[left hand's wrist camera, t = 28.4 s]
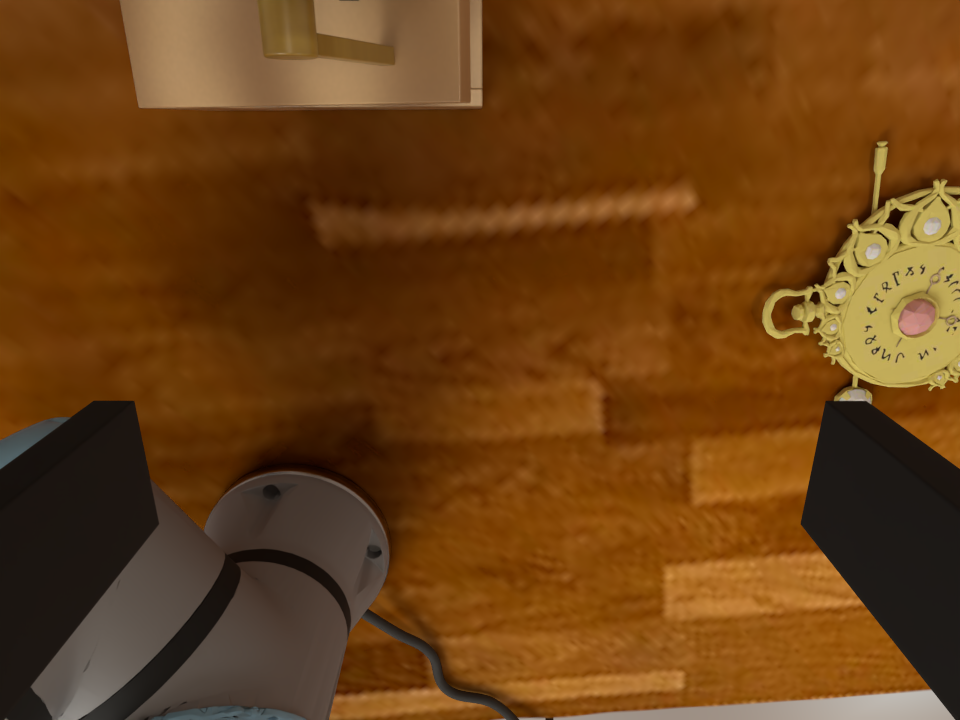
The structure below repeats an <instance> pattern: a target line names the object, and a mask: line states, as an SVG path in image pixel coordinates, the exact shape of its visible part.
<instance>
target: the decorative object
mask: <svg viewBox="0 0 960 720" xmlns="http://www.w3.org/2000/svg"><path fill="white" fill-rule="evenodd" d="M887 143H888V142H887V141H879V142H877V145H878V146H879V147H878V148H875V160H874V172H875V174H876V177H875V186H874V195H873V204H872V213H871V216H870V217H869V218H867V219H866V220H865V221H864V222H863V223H861V224H860V225H858V219H854V220H853V221H852V223H853V224H848V225H847V227H848V228H849V229H851V230H852V234H851V235H850V236H849V238H848V239H847V240H846V241H845V242H844V244H843V245H842V247H841V248H840V250H839V252H838V253H837V255H836V257H835V258H828V261H827V263H828V265H829V266H830V269H829V271H828V274H827V276H826V279H825V282H824V285H821V286H819V285H818V284H817V283H816V284H815V285H814V286H815V288H814V289H813V287H812V286H807V287H806V288H805V289H803V290H799V291H794V290H791V289H779V290H777V291H775V292H773V293H772V295H771V296H770V297H769V298H768V300H767V301H766V303H765V306H764V309H763V312H762V322H763V325H764V327H765V329H766V331H767V333H768V334H770V335H771V336H773V337H774V338H777V339H779V338H786V337H787V336H789V335H791V334H793V333H803V334H804V335H809V330H810V329H809V326H808V323H807V322H812V321H813V319H814V318H815V316H817V318H820V320H821V323H820V325H819V327H818V328H814V330H815V331H814V332H813V333H815V334H816V333H818V332H819V333H820V335H821V336H822V337H823V338H822V340H821V341H820V342H819V343H818V344H819V345H825V346H827V352H826V353H824V357H827V356H830V357H831V358H832V362H831V364H833V365H834V363H835V359H836V360H837V361H838V362H839V363H840V365H841V366H842V367H844V368H845V369H846V370H848V371H849V372H850V373H851V374H853V383H852V386H849V387H846V388H844V389H843V390H841V391H840V392H839V393H838V394H837V395H836V396H835V398H834V401H867V402H868V403H870V404H872V394H871V393H870V392H869V391H868V390H866V389H863V388H860V387H858V386H857V383H858V378H860V379H863V380H865V381H867V382H869V383H872V384H877V385H882V386H887V387H911V386H917V385H922V384H927V383H929V384H931V386H930V387H929V388H928V390H929V391H931V390H932V388H933V387H935V386H940V389H943V388H945V386H944V384H945V383H946V382H947V380H952V381H954V382H955V383H956V382H958V377H959V376H960V198H959V199H958V200H956V199H954V198H953V197H951V196H950V195H948V194H954V195H960V187H952V186H945V184H946V182H947V181H948V180H945V179H941V180H940V182H939V180H938V179H936V180H934V181H933V186H934V187H933V188H927V189H922V190H917V191H915V192H912V193H909V194H907V195H904V196H901V197H899V198H896V199H894V198H891V199H890V200H886V205H885V206H883V207H882V208H880V209H878V210H877V206H878V198H879V189H880V180H881V174H882V172H883V171H884V170H885V164H886V157H887V150H888V147H885V145H886V144H887ZM937 195H938V196H937ZM922 197H925V198H924V199H922V200H920V201H919V202H917V203H916V204H915V205H912V204H904V203H907V202H909V201H912V200H915V199H918V198H922ZM941 199H943V200H944V201H945V202H946V203H947V204H949V205H948V206H946V207H945V205H944V204H943V202H942V201H941ZM924 206H925V207H924ZM923 207H924V208H923ZM895 208H898V209H899V210H900V211H908V212H906V213H905V214H904V215H903V217H902V219H901V221H900V223H899V225H898V228H895V227H894V226H893V225H892V224H888V223H885V221H886V220H887V218H888V217H889V212H890V211H891V210H893V209H895ZM922 208H923V209H922ZM948 209H951V222H950V216H949V211H948ZM879 218H880V219H879ZM878 219H879V220H878ZM877 220H878V223H876V221H877ZM950 223H951V227H950V228H949V230H948V227H949V225H950ZM947 230H948V231H947ZM864 231H869V233H863V232H864ZM877 231H880V232H881V233H882V234H883V235H884V236H885V237H886V238H888V239H889V243H888V245H887V241H886V239H885V238H884V237H882V236H881V235H880V234H878V233H876V232H877ZM911 235H912V237H911ZM951 240H953V243H952V242H949V241H951ZM900 241H901V242H902V243H901V244H899V243H900ZM854 245H855V246H854ZM853 253H854V255H853ZM854 256H855V257H854ZM855 259H856V260H855ZM842 260H843V261H844V267H845V269H846V271H847V272H841V273H838V274H837V271H838V268H839V266H840V264H841V262H842ZM857 264H859V265H862V266H863V267H858V266H857ZM835 281H838V282H835ZM844 281H848V282H849V284H847V283H845V282H844ZM816 291H818V292H819V293H820V301H821V302H818V303H817V304H816V305H814V303H813V302H811V301H809V299H810V297H811V295H812V293H813V292H816ZM786 295H787V296H801V295H805V301H804V302H802V303H801V304H797V305H795V306H794V307H793V309H792V313H791V314H792V316H793V318H794V320H800V321H802V322H803V325H802V327H799V328H791V329H787V330H783V331H780V330H776V329H775V328H774V326H773V323H772V320H771V312H772V310H773V307H774V304H775V302H776V301H777V300H778V299H780V298H781V297H784V296H786ZM829 302H830V303H831V304H830V303H829ZM832 304H839V305H837V306H834V305H832ZM828 313H830V314H829V315H828ZM834 318H835V319H834ZM825 341H826V342H825ZM946 366H947V368H946V369H944V368H945V367H946ZM951 374H952V375H954V379H955V380H954V379H953V378H952V377H949V376H950V375H951ZM937 383H938V384H937Z"/></svg>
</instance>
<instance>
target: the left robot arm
mask: <svg viewBox="0 0 960 720" xmlns="http://www.w3.org/2000/svg"><path fill="white" fill-rule="evenodd" d="M801 525H802V526H803V528H804V529H805V530H806V531H807V533H808V534H809V535H810V537H811V538H812V539H813V540H814V542H815V543H816V544H817V545H818V547H819V548H820V549H821V550H822V552H823V553H824V554H825V555H826V557H827V558H828V559H829V561H830V562H831V563H832V564H833V566H834V567H835V568H836V569H837V571H838V572H839V573H840V574H841V576H842V577H843V578H844V580H845V581H846V582H847V583H848V585H849V586H850V587H851V588H852V590H853V591H854V592H855V593H856V595H857V596H858V597H859V598H860V600H861V601H862V602H863V604H864V605H865V606H866V607H867V609H868V610H869V611H870V612H871V614H872V615H873V616H874V617H875V619H876V620H877V621H878V622H879V624H880V625H881V626H882V628H883V629H884V630H885V631H886V633H887V634H888V635H889V636H890V638H891V639H892V640H893V641H894V643H895V644H896V645H897V646H898V648H899V649H900V650H901V652H902V653H903V654H904V655H905V657H906V658H907V659H908V660H909V662H910V663H911V664H912V665H913V667H914V668H915V669H916V671H917V672H918V673H919V674H920V676H921V677H922V678H923V679H924V681H925V682H926V683H927V684H928V686H929V687H930V688H931V689H932V691H933V692H934V693H935V695H936V696H937V697H938V698H939V700H940V701H941V702H942V703H943V705H944V706H945V707H946V708H947V710H948V711H949V712H950V713H951V715H952V716H953V717H954V719H955V720H960V469H959V468H958V467H956V466H955V465H953V464H952V463H951V462H949V461H948V460H947V459H945V458H944V457H942V456H941V455H940V454H938V453H937V452H936V451H934V450H933V449H931V448H930V447H929V446H927V445H926V444H925V443H923V442H922V441H921V440H919V439H918V438H916V437H915V436H914V435H912V434H911V433H910V432H908V431H907V430H905V429H904V428H903V427H901V426H900V425H899V424H897V423H896V422H895V421H893V420H892V419H890V418H889V417H888V416H886V415H885V414H884V413H882V412H881V411H879V410H878V409H877V408H875V407H874V406H873V405H871V404H870V403H868V402H867V401H826V403H825V408H824V412H823V417H822V422H821V427H820V432H819V437H818V442H817V447H816V452H815V456H814V461H813V466H812V471H811V476H810V481H809V486H808V491H807V495H806V500H805V505H804V510H803V515H802V520H801ZM390 557H391V537H390V532H389V529H388V525H387V523H386V520H385V518H384V516H383V514H382V512H381V511H380V509H379V508H378V506H377V505H376V503H375V502H374V501H373V500H372V499H371V498H370V496H369V495H368V494H366V493H365V492H364V491H363V490H362V489H361V488H360V487H358V486H357V485H356V484H354V483H353V482H351V481H350V480H348V479H346V478H344V477H343V476H341V475H338V474H336V473H334V472H331V471H329V470H326V469H322V468H318V467H314V466H308V465H299V464H284V465H275V466H270V467H266V468H262V469H259V470H257V471H254V472H252V473H250V474H248V475H246V476H244V477H242V478H241V479H239V480H238V481H236V482H235V483H234V484H233V485H231V486H230V487H229V488H228V489H227V490H226V491H225V493H224V494H223V495H222V497H221V498H220V499H219V501H218V502H217V504H216V505H215V507H214V508H213V510H212V512H211V513H210V515H209V517H208V520H207V522H206V526H205V528H204V531H202V530H201V529H200V528H199V527H198V526H197V525H196V524H195V523H194V522H193V521H192V520H191V519H190V518H189V517H188V516H187V515H186V514H185V513H184V512H183V511H182V510H181V509H180V508H179V507H178V506H177V505H176V504H175V503H174V502H173V501H172V500H171V499H170V498H169V497H168V496H167V495H166V494H165V493H164V492H163V491H162V490H161V489H160V488H159V487H158V486H157V485H156V484H155V483H154V482H153V481H152V480H151V479H150V476H149V471H148V466H147V461H146V456H145V452H144V447H143V442H142V437H141V432H140V427H139V422H138V417H137V412H136V408H135V403H134V401H93V402H91V403H90V404H89V405H87V406H86V407H85V408H83V409H82V410H81V411H79V412H78V413H76V414H75V415H74V416H72V417H71V418H70V417H58V418H52V419H48V420H44V421H41V422H39V423H36V424H34V425H31V426H29V427H27V428H25V429H23V430H20V431H18V432H16V433H14V434H12V435H10V436H8V437H6V438H4V439H2V440H0V720H329V716H330V712H331V708H332V704H333V700H334V695H335V691H336V687H337V683H338V678H339V674H340V670H341V666H342V661H343V657H344V653H345V649H346V644H347V640H348V636H349V632H350V631H351V630H352V629H353V627H354V626H355V625H356V623H357V622H358V621H359V619H360V618H363V619H364V620H366V621H368V622H369V623H371V624H373V625H374V626H376V627H377V628H379V629H381V630H382V631H384V632H386V633H387V634H389V635H391V636H392V637H394V638H396V639H398V640H400V641H402V642H404V643H406V644H408V645H411V646H413V647H415V648H417V649H418V650H420V651H421V652H423V653H424V654H425V655H426V656H427V657H428V658H429V660H430V662H431V665H432V670H433V675H434V679H435V681H436V684H437V685H438V687H439V688H440V690H441V691H442V692H443V693H444V694H446V695H447V696H449V697H451V698H453V699H456V700H459V701H464V702H471V703H477V704H482V705H486V706H488V707H491V708H492V709H494V710H496V711H497V712H498V713H500V714H501V715H502V716H503V717H504V718H505V719H506V720H519V719H518V718H517V717H516V716H515V715H514V713H513V712H512V711H511V710H510V709H508V708H507V707H506V706H505V705H504V704H502V703H501V702H500V701H498V700H496V699H495V698H493V697H490V696H487V695H484V694H479V693H472V692H465V691H461V690H458V689H455V688H453V687H451V686H450V685H449V684H448V683H447V682H446V681H445V679H444V677H443V673H442V668H441V663H440V660H439V657H438V655H437V654H436V652H435V651H434V649H433V648H432V647H431V646H430V645H429V644H427V643H426V642H425V641H423V640H421V639H420V638H418V637H416V636H413V635H411V634H409V633H407V632H405V631H403V630H401V629H399V628H398V627H396V626H394V625H393V624H391V623H389V622H388V621H386V620H385V619H383V618H381V617H380V616H378V615H377V614H375V613H373V612H372V611H370V610H369V609H368V608H369V606H370V605H371V604H372V602H373V601H374V600H375V598H376V597H377V595H378V593H379V591H380V590H381V588H382V586H383V584H384V581H385V579H386V575H387V572H388V567H389V562H390ZM545 720H554V718H545Z"/></svg>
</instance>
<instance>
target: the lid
mask: <svg viewBox="0 0 960 720" xmlns="http://www.w3.org/2000/svg"><path fill="white" fill-rule="evenodd" d="M120 5H121V10H122V16H123V22H124V27H125V33H126V39H127V44H128V50H129V56H130V61H131V67H132V72H133V78H134V84H135V89H136V95H137V101H138V106H139V108H208V107H266V106H324V105H381V104H439V103H470V102H471V70H470V0H359V1H339V0H120Z"/></svg>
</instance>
